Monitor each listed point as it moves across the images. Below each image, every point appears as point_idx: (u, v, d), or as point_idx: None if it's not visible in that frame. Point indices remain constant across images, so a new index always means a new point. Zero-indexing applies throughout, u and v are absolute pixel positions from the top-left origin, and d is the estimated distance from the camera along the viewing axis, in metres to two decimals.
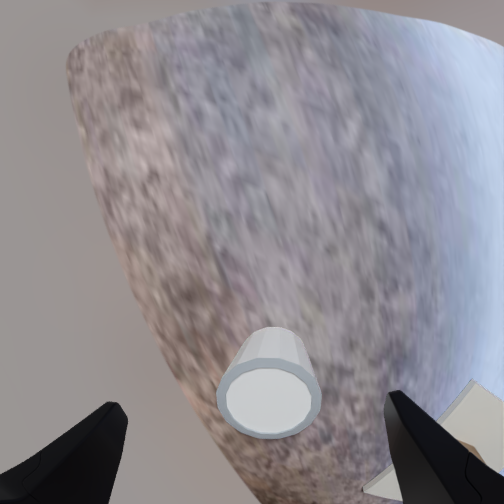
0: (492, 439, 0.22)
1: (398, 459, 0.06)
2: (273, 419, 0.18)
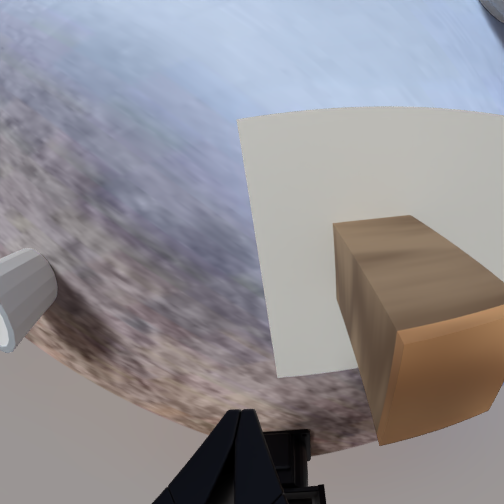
0: (447, 181, 0.15)
1: None
2: None
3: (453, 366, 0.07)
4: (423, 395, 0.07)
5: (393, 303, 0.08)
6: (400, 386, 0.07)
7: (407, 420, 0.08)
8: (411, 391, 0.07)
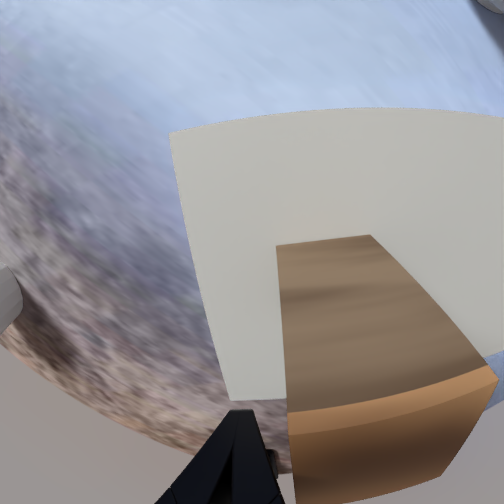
0: (417, 195, 0.14)
1: None
2: None
3: (373, 452, 0.05)
4: (336, 475, 0.06)
5: (300, 368, 0.07)
6: (298, 469, 0.05)
7: (323, 493, 0.06)
8: (317, 473, 0.06)
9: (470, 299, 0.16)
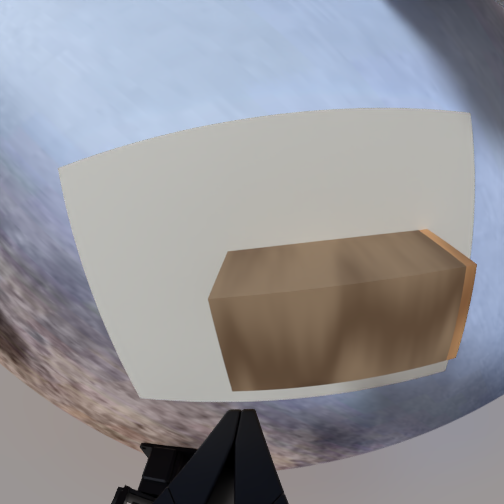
0: (278, 208, 0.15)
1: None
2: None
3: None
4: None
5: (436, 267, 0.10)
6: None
7: None
8: None
9: None
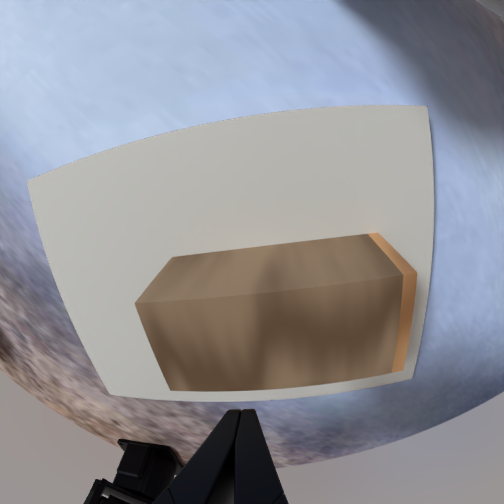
0: (215, 215, 0.15)
1: None
2: None
3: None
4: None
5: (367, 275, 0.10)
6: (412, 307, 0.11)
7: None
8: None
9: None
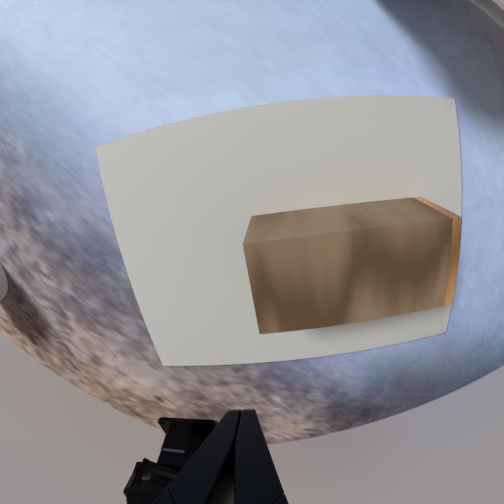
0: (294, 178, 0.17)
1: None
2: None
3: None
4: None
5: (427, 218, 0.13)
6: (458, 246, 0.13)
7: None
8: None
9: None
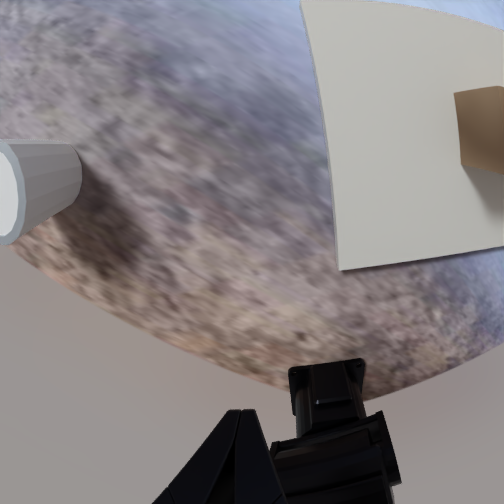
0: (477, 72, 0.13)
1: None
2: (6, 205, 0.13)
3: None
4: None
5: None
6: None
7: None
8: None
9: None
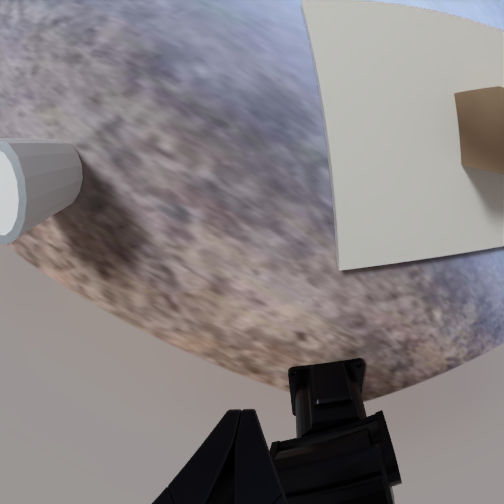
0: (478, 72, 0.13)
1: None
2: (7, 204, 0.13)
3: None
4: None
5: None
6: None
7: None
8: None
9: None
